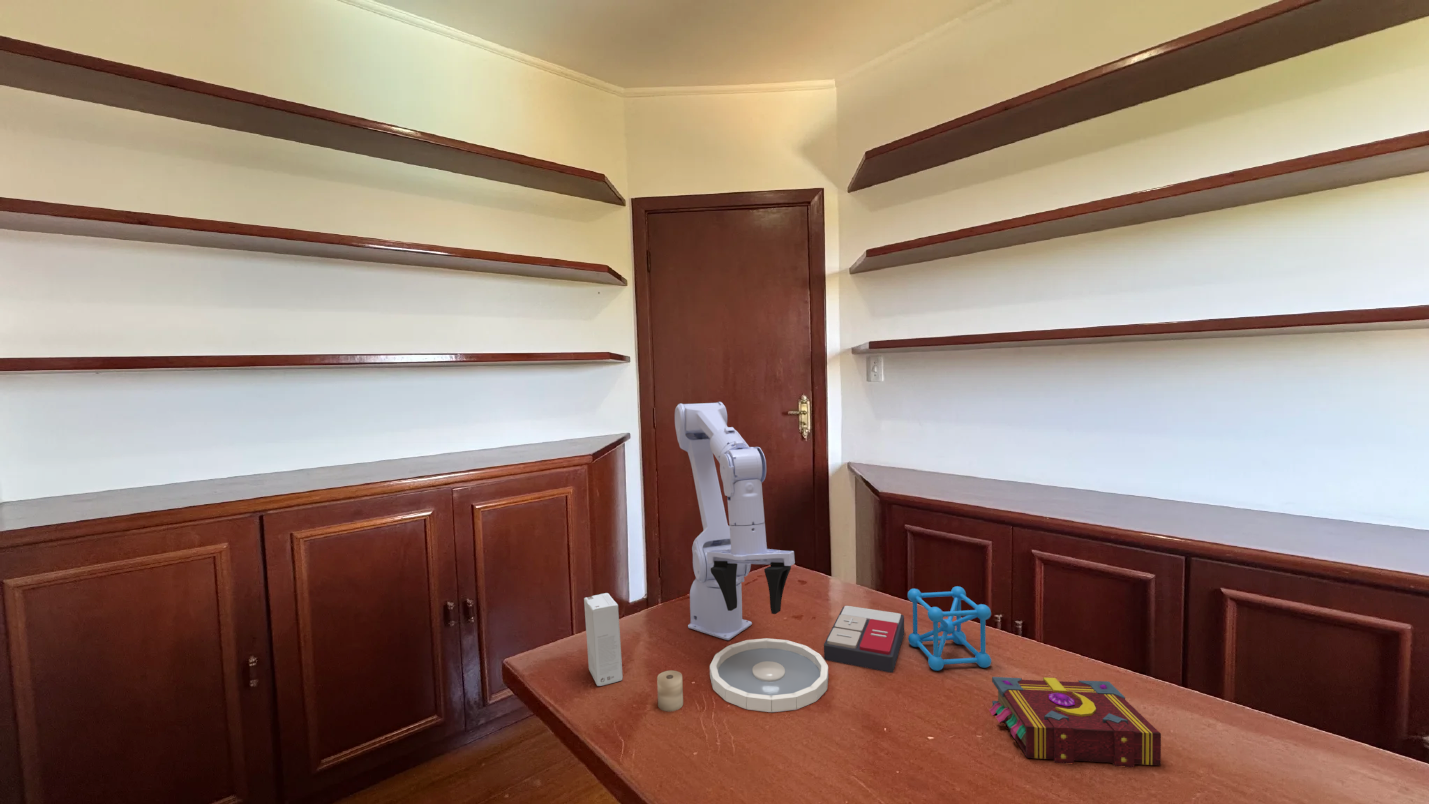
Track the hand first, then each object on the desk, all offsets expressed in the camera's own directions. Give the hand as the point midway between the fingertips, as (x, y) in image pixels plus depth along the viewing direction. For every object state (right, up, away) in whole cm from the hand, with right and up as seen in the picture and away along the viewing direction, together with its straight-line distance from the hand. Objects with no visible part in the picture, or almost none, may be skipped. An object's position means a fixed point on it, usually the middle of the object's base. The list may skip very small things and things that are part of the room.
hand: (753, 610), depth 88 cm
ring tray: (+2, -10, -1) cm, 10 cm away
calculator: (+20, -10, +8) cm, 23 cm away
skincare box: (-24, -11, +1) cm, 26 cm away
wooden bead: (-13, -11, -8) cm, 18 cm away
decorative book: (+39, -10, -17) cm, 43 cm away
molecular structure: (+32, -9, +4) cm, 34 cm away
